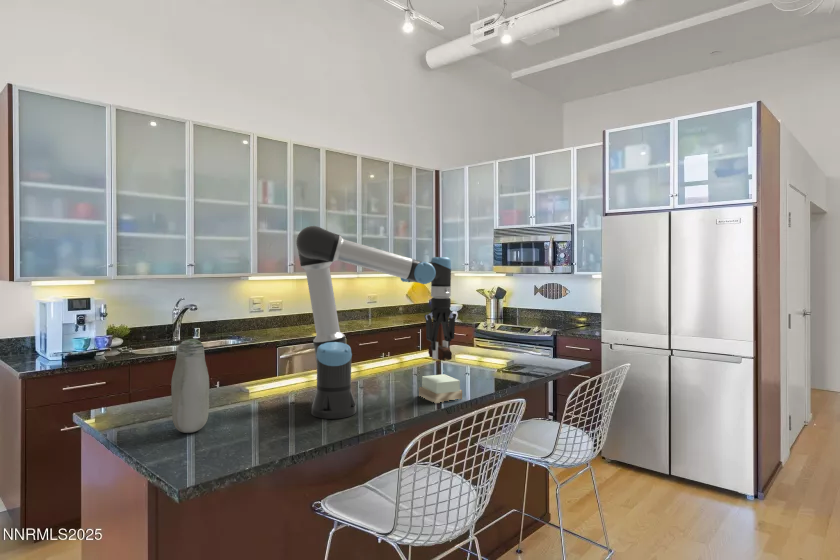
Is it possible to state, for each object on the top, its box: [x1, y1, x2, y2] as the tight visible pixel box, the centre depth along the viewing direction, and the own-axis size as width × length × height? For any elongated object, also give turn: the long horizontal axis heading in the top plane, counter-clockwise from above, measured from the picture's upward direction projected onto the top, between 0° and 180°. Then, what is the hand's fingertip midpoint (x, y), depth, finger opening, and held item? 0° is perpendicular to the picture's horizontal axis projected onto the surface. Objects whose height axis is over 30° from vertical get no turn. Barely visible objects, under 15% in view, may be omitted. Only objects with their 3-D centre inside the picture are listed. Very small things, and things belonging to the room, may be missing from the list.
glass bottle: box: [170, 338, 210, 434], centre depth 157 cm, size 10×10×28 cm
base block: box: [418, 386, 463, 404], centre depth 200 cm, size 12×12×4 cm
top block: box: [421, 373, 461, 394], centre depth 200 cm, size 10×12×4 cm
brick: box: [427, 344, 453, 362], centre depth 200 cm, size 11×4×5 cm, turn 32°
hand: (440, 358), depth 199 cm, fingers closed on brick, 4 cm apart
